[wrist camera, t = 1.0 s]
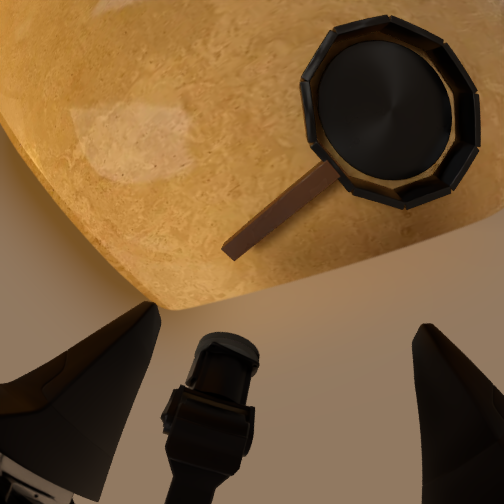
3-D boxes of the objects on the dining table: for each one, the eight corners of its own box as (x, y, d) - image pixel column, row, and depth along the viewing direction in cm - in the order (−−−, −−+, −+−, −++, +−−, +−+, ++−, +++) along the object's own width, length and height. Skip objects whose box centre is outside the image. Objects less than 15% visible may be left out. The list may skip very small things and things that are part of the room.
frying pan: (385, 0, 11) (399, -14, 8) (482, 138, 15) (505, 147, 12) (178, 179, 22) (160, 192, 19) (289, 284, 26) (287, 309, 23)
